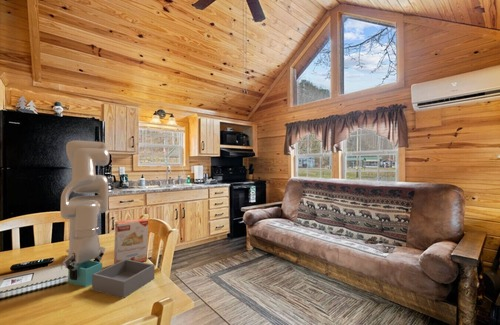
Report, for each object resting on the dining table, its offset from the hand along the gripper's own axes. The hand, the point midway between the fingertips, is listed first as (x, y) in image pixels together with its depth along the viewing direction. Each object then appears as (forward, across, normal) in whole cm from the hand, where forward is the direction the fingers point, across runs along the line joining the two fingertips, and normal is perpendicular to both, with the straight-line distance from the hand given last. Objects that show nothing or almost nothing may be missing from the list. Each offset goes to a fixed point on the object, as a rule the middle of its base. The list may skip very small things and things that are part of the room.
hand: (85, 274), depth 100 cm
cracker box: (+3, -21, +3) cm, 22 cm away
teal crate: (+3, 0, 0) cm, 3 cm away
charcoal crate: (+3, -4, +17) cm, 17 cm away
